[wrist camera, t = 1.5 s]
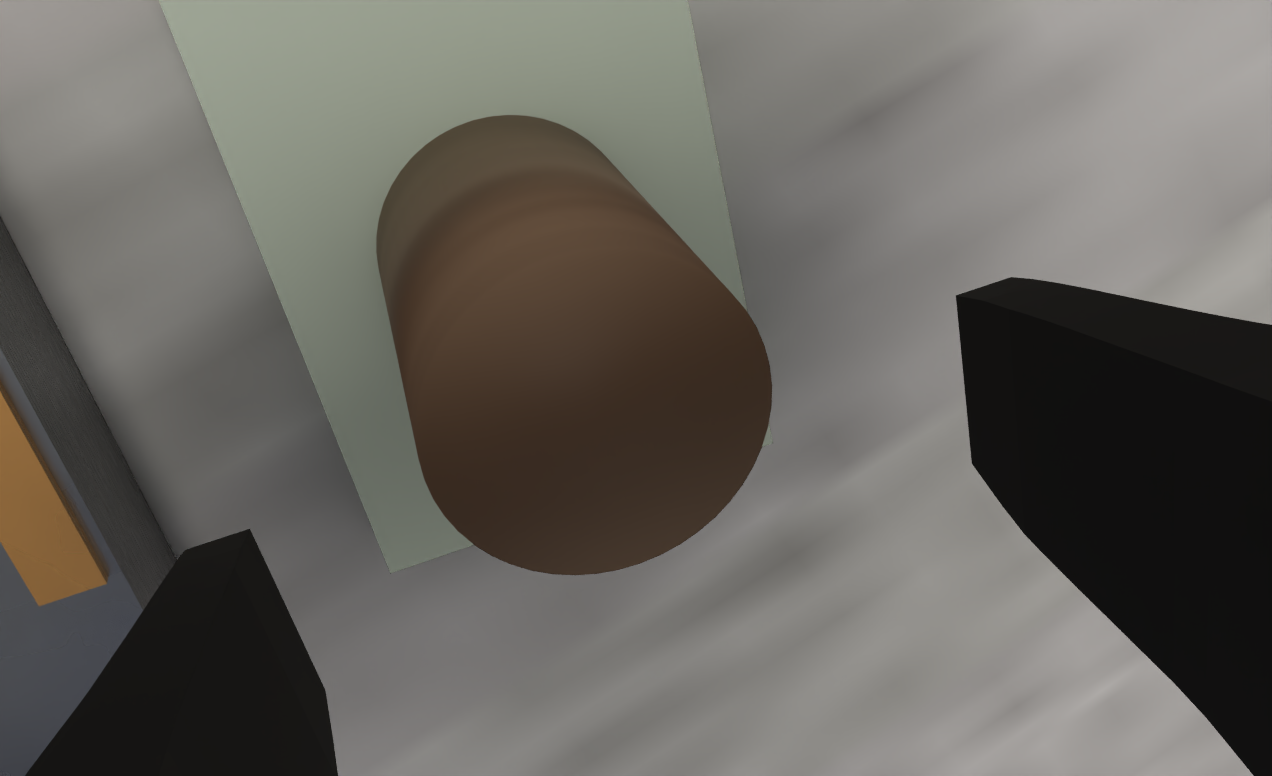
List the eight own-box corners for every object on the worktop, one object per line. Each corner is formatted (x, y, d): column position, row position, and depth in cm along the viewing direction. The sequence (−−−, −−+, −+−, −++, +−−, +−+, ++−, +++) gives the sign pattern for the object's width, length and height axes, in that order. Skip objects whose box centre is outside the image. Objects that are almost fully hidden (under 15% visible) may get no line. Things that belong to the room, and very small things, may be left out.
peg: (659, 320, 19) (796, 508, 14) (422, 396, 19) (475, 620, 14) (602, 82, 18) (738, 200, 12) (339, 159, 17) (364, 316, 12)
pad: (744, 406, 22) (772, 443, 21) (384, 526, 22) (390, 573, 20) (629, -165, 18) (656, -162, 16) (158, -40, 17) (148, -26, 15)
